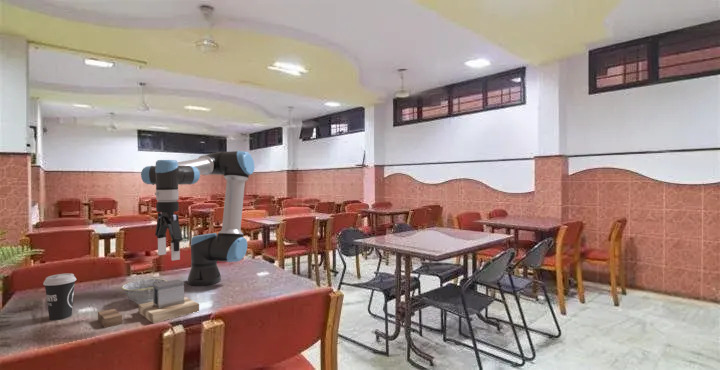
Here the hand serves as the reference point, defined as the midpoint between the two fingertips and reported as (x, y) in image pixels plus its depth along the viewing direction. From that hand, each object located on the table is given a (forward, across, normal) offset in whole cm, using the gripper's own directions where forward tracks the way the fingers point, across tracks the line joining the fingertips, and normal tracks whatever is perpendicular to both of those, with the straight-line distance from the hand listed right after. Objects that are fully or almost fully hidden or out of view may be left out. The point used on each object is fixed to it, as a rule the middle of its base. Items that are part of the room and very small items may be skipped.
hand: (168, 257), depth 144 cm
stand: (+21, -5, -18) cm, 28 cm away
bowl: (+21, -20, -2) cm, 29 cm away
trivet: (+21, 0, 0) cm, 21 cm away
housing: (+18, 0, 0) cm, 18 cm away
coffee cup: (+21, -24, -30) cm, 43 cm away
